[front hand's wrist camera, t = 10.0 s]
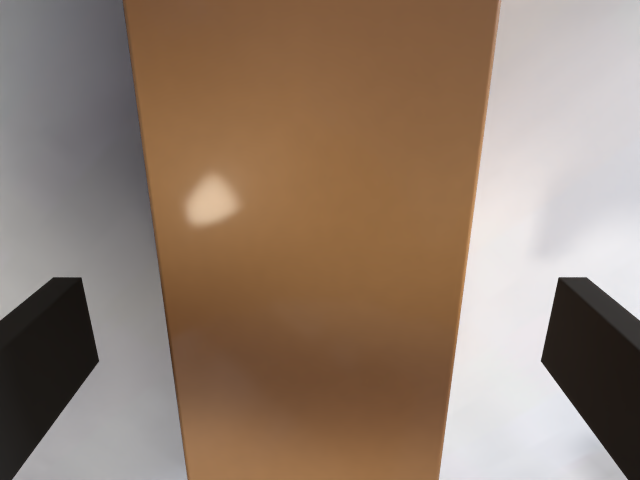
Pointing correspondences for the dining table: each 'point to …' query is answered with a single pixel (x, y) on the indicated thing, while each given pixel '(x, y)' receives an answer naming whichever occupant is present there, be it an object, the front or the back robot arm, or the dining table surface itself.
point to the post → (312, 223)
